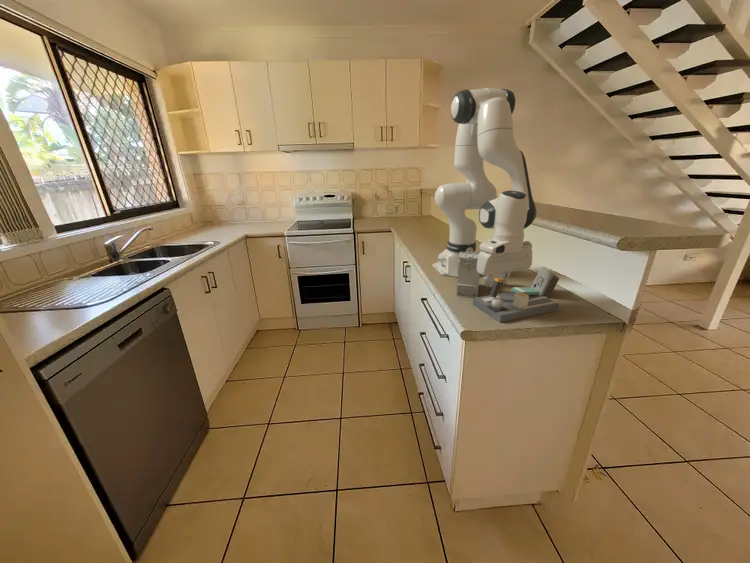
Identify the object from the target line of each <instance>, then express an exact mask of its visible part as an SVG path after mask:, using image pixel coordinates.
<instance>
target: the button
mask: <svg viewBox="0 0 750 563" xmlns="http://www.w3.org/2000/svg"><path fill="white" fill-rule="evenodd" d="M502 304H503V300H501V299H497V298H495V299H492V305H491V307H492V308H493V309H502Z"/></svg>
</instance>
